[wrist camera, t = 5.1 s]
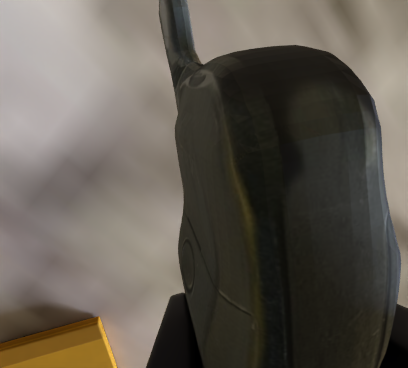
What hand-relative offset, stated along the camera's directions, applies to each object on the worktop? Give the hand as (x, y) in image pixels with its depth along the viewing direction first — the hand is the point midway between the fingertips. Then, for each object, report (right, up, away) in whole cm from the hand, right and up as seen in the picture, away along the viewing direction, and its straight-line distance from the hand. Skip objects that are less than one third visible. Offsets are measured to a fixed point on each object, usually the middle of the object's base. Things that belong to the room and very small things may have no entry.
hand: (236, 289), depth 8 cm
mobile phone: (0, 0, +1) cm, 1 cm away
